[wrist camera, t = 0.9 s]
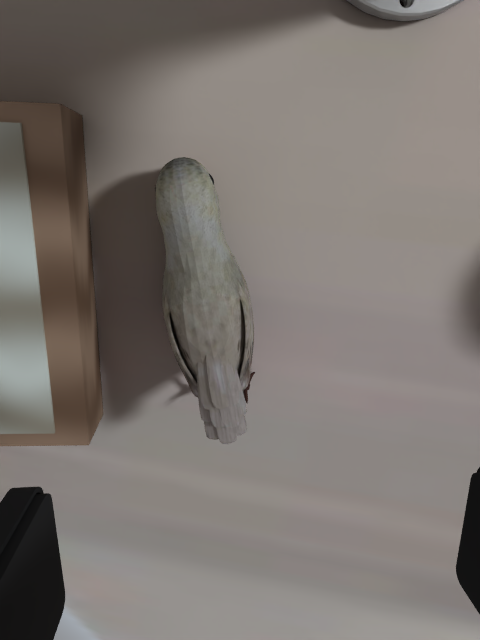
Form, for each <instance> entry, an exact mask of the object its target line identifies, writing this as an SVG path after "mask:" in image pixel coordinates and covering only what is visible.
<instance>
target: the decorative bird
mask: <svg viewBox="0 0 480 640" xmlns="http://www.w3.org/2000/svg"><path fill="white" fill-rule="evenodd" d="M155 192H156V211H157V215H158V219H159V222H160V225H161V228H162V231H163V236H164V243H165V251H166V266H165V271H164V276H163V294H162V307H163V314H164V321H165V325H166V328H167V332H168V336H169V340H170V344H171V346H172V349H173V352H174V355H175V357H176V360H177V362H178V364H179V366H180V368H181V370H182V372H183V374H184V376H185V378H186V380H187V382H188V384H189V386H190V389H191V391H192V393H193V394H194V395H195V396H196V397H198V399H199V408H200V414H201V418H202V420H203V421H204V424H205V432H206V435H207V437H208V438H209V439H214V440H216V439H219V440H220V442H221V443H223V444H228V443H232V442H235V441H236V439H237V436H239V435H242V434H244V433H245V432H246V430H247V428H246V420H245V416H244V414H246V412H247V409H246V403H247V402H248V394H247V390H249V387H250V384H249V383H250V381H251V379H252V377H253V375H254V373H255V372H253V373H251V364H252V353H253V343H254V323H253V315H252V307H251V301H250V296H249V292H248V288H247V285H246V281H245V279H244V277H243V275H242V273H241V271H240V269H239V266H238V264H237V262H236V260H235V258H234V256H233V255H232V253H231V251H230V250H229V248H228V246H227V244H226V242H225V239H224V236H223V232H222V228H221V224H220V214H219V202H218V197H217V194H216V191H215V188H214V180H213V178H212V176H211V175H210V174H208V172H207V171H206V170H205V168H204V167H203V166H202V165H201V164H200V163H199V162H197V161H196V160H194V159H191V158H185V157H183V158H177V159H173V160H172V161H170V162H168V163H167V164H166V165H165V166H164V167H163V168H162V170H161V172H160V174H159V177H158V180H157V184H156V187H155ZM250 373H251V374H250ZM245 401H246V402H245Z"/></svg>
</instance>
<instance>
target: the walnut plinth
mask: <svg viewBox="0 0 480 640" xmlns="http://www.w3.org/2000/svg"><path fill="white" fill-rule="evenodd" d="M102 416H103V402H102V388H101V374H100V359H99V345H98V331H97V317H96V303H95V289H94V275H93V261H92V247H91V233H90V219H89V205H88V191H87V177H86V163H85V149H84V135H83V121H82V115H80V114H78V113H76V112H75V111H73V110H71V109H69V108H67V107H65V106H63V105H62V104H56V103H33V102H10V101H0V446H56V445H89V444H90V441H91V439H92V437H93V435H94V433H95V431H96V429H97V427H98V424H99V422H100V420H101V418H102Z"/></svg>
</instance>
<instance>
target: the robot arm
mask: <svg viewBox="0 0 480 640" xmlns="http://www.w3.org/2000/svg"><path fill="white" fill-rule="evenodd" d="M346 1H348V2H349V3H351V4H352V5H354V6H356V7H357V8H359V9H360V10H362V11H363V12H365V13H368V14H371V15H374V16H377V17H379V18H382V19H388V20H396V21H411V20H420V19H425V18H428V17H431V16H434V15H437V14H440V13H443V12H445V11H447V10H448V9H450V8H452V7H454V6H455V5H457V4H459V3H461V2H462V1H464V0H401V1H403V3H404V7H402V6H401V4H400V2H399V0H346ZM456 573H457V577H458V580H459V583H460V585H461V586H462V588H463V590H464V591H465V593H466V594H467V596H468V597H469V599H470V600H471V602H472V603H473V605H474V606H475V608H476V609H477V611H478V612H479V614H480V467H479V469H478V470H477V473H474V474H473V475H472V477H471V481H470V487H469V493H468V499H467V505H466V511H465V517H464V523H463V528H462V534H461V540H460V546H459V552H458V558H457V564H456ZM64 603H65V588H64V581H63V574H62V567H61V560H60V553H59V546H58V539H57V532H56V525H55V518H54V510H53V503H52V498H51V495H50V494H44V493H43V490H42V488H41V487H22V488H12V489H10V490H9V491H8V492H7V494H6V495H5V497H4V498H3V500H2V501H1V503H0V640H53V639H54V636H55V633H56V630H57V627H58V624H59V622H60V619H61V616H62V613H63V609H64Z"/></svg>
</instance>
